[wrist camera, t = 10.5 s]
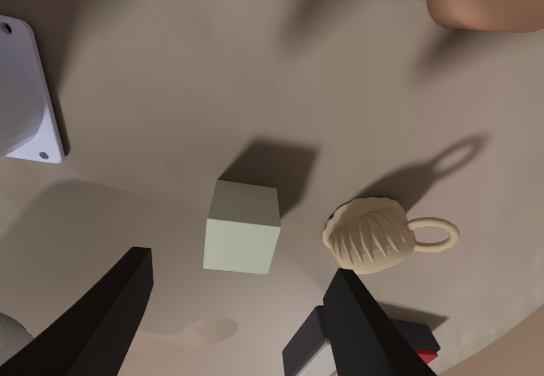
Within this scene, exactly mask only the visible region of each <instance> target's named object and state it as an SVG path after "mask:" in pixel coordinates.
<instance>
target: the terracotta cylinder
mask: <svg viewBox="0 0 544 376" xmlns="http://www.w3.org/2000/svg"><path fill="white" fill-rule="evenodd" d="M426 2H427V8H428V11H429V14H430V16H431V17H432V19H433V20H434V21H435V22H436V23H437V24H439V25H440V26H443V27H445V28H454V29H470V30H486V31H502V32H519V33H526V32H532V31H536V30H539V29H542V28H544V0H426Z"/></svg>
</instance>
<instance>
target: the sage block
mask: <svg viewBox="0 0 544 376" xmlns="http://www.w3.org/2000/svg"><path fill="white" fill-rule="evenodd" d="M280 229H281V223H280V214H279V205H278V196H277V188H271V187H264V186H258V185H251V184H244V183H237V182H230V181H223V180H217V182H216V186H215V190H214V194H213V198H212V202H211V206H210V210H209V214H208V218H207V228H206V241H205V252H204V264H203V268H206V269H216V270H227V271H238V272H248V273H259V274H268V270H269V267H270V263H271V260H272V257H273V253H274V250H275V246H276V243H277V239H278V236H279V232H280Z"/></svg>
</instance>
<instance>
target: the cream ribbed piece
mask: <svg viewBox="0 0 544 376" xmlns="http://www.w3.org/2000/svg"><path fill="white" fill-rule="evenodd" d="M422 226H439V227H442V228H445V229H446V230H448V231H449V232H450V237H449V238H448V239H446V240H444V241H442V242H438V243H421V242H417V241H416V239H415V235H414V232H413V229H415V228H418V227H422ZM322 234H323V242H324V244H325V245H326V246H327V247H328V248H330V249H331V250H332V252H333V254H334V256H335V258H336V259H337V261H338V263H339V264H340V265H341V266H342V267H343V268H344V269H352V270H353V271H354V272H355V273H356V274H370V273H374V272H378V271H381V270H384V269H387V268H389V267H391V266H394V265H396V264H398V263H400V262H401V261H403V260H404V259H405V258H407V257H408V256H409V255H410V254H411V253H412V251H413V250H416V251H420V252H438V251H443V250H446V249H448V248H451V247H452V246H454V245H455V244H456V243H457V242H458V241H459V238H460V232H459V230H458V228H457V227H456V226H455V225H454V224H452V223H451V222H449V221H447V220H444V219H440V218H435V217H423V218H417V219H413V220H410V221H408V220H407V217H406V215H405V211H404V209H403V207H402V206H401V205H400V204H399V203H398V202H397V201H396V200H391V199H389V198H386V197H383V198H376V197H368V198H357V199H354V200H352V201H350V202H349V203H347V204H345V205H342V206H341V207H339V208H338V209H337V210H336V211H335V213H334V215H333V217H332V218H331V219H330V220H328V221H327V227H326V228H325V229H324V230H323V232H322Z"/></svg>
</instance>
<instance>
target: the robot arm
mask: <svg viewBox="0 0 544 376" xmlns="http://www.w3.org/2000/svg"><path fill="white" fill-rule="evenodd" d="M6 23H7V24H8V25H9V26H10V27H11V29H12V33H10V32H9V31H8V30H7V28H6ZM44 152H45V153H46V154H48V156H47V155H45V154H44ZM4 156H7V157H14V158H21V159H28V160H35V161H42V162H49V163H60V162H62V161H63V160H64V159H65V155H64V151H63V147H62V143H61V139H60V135H59V131H58V127H57V123H56V119H55V115H54V111H53V107H52V104H51V100H50V96H49V92H48V88H47V84H46V80H45V76H44V72H43V68H42V64H41V60H40V56H39V52H38V48H37V44H36V40H35V36H34V33H33V30H32V28H31V27H30V26H29V24H28V23H26V22H25V21H23V20H21V19H18V18H13V17H8V16H3V15H0V159H1V158H2V157H4ZM153 284H154V282H153V268H152V254H151V248H143V247H132V248H130V250H128V252H127V253H126V254H125V255H124V256H123V257H122V258H121V259H120V260H119V261H118V262H117V263H116V264H115V265H114V266H113V267H112V268H111V269H110V270H109V271H108V272H107V273H106V274H105V275H104V276H103V277H102V278H101V279H100V280H99V281H98V282H97V283H96V284H95V285H94V286H93V287H92V288H91V289H90V290H89V291H88V292H87V293H86V294H85V295H83V296H82V297H81V298H80V299H79V300H78V301H77V302H76V303H75V304H74V305H73V306H72V307H70V308H69V309H68V310H67V311H66V312H65V313H64V314H62V315H61V316H60V317H59V318H58V319H57V320H56V321H55V322H53V323H52V324H51V325H50V326H49V327H48V328H47V329H46V330H44V331H43V332H42V333H41V334H39V335H38V336H37V337H36V338H35V339H33V340H32V341H31V342H30V343H28V344H27V345H26V346H25V347H24V348H22V349H21V350H20V351H18V352H17V353H16V354H15V355H13V356H12V357H11V358H10V359H8V360H7V361H6V362H4V363H3V364H2V365H1V366H0V376H117V374H118V372H119V370H120V367H121V365H122V363H123V361H124V358H125V356H126V354H127V352H128V349H129V347H130V345H131V342H132V340H133V338H134V336H135V333H136V331H137V329H138V326H139V324H140V322H141V319H142V317H143V315H144V312H145V310H146V306H147V303H148V300H149V297H150V294H151V291H152V287H153ZM323 304H324V314H325V321H326V327H327V332H328V336H329V340H330V345H331V349H332V353H333V357H334V362H335V366H336V370H337V374H338V376H437V375H436V374H435V373H434V372H433V371H432V369H431V368H430V367H429V366H428V365H427V364H426V363H425V362H424V361H423V359H422V358H421V357H420V356H419V355H418V354H417V353H416V351H415V350H414V349H413V348H412V347H411V345H410V344H409V343H408V342H407V341H406V339H405V338H404V337H403V336H402V334H401V333H400V332H399V331H398V329H397V328H396V327H395V326H394V324H393V323H392V322H391V321H390V319H389V318H388V317H387V315H386V314H385V313H384V311H383V310H382V309H381V307H380V306H379V305H378V303H377V302H376V301H375V299H374V298H373V297H372V295H371V294H370V292H369V291H368V290H367V288H366V287H365V286H364V284H363V283H362V281H361V280H360V279H359V277H358V276H357V275H356V273H355V272H354V271H353V270H352V269H343V268H338V270H337V272H336V274H335V276H334V278H333V280H332V282H331V284H330V286H329V288H328V289H327V291H326V293H325V295H324V297H323Z"/></svg>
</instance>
